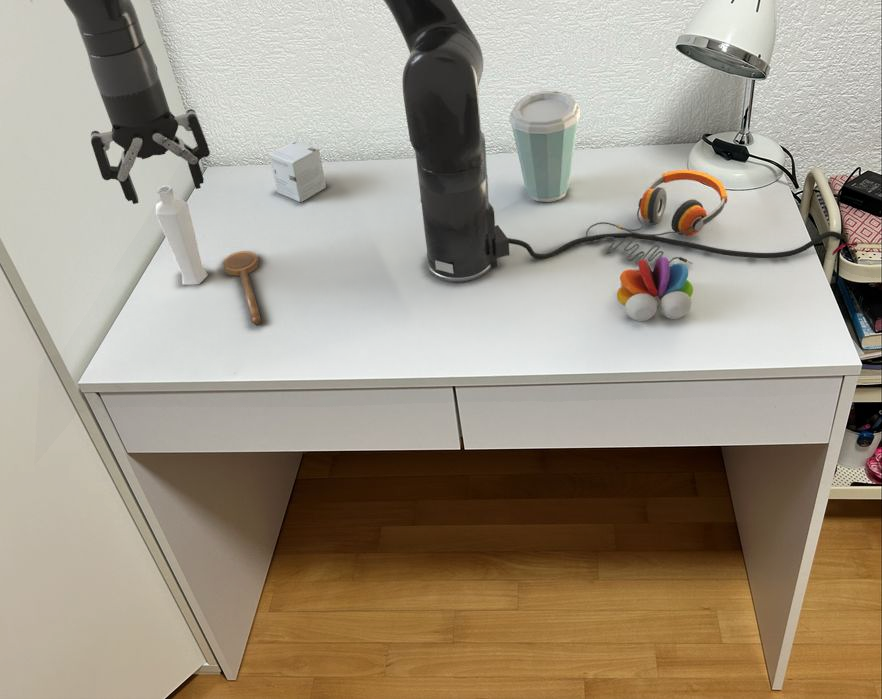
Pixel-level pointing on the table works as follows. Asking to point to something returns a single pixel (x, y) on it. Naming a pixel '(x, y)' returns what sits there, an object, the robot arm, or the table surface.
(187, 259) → the perfume bottle
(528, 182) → the disposable coffee cup
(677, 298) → the rainbow petal fan toy
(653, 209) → the headphones
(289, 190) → the product carton
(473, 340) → the table surface
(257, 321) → the wooden spoon
